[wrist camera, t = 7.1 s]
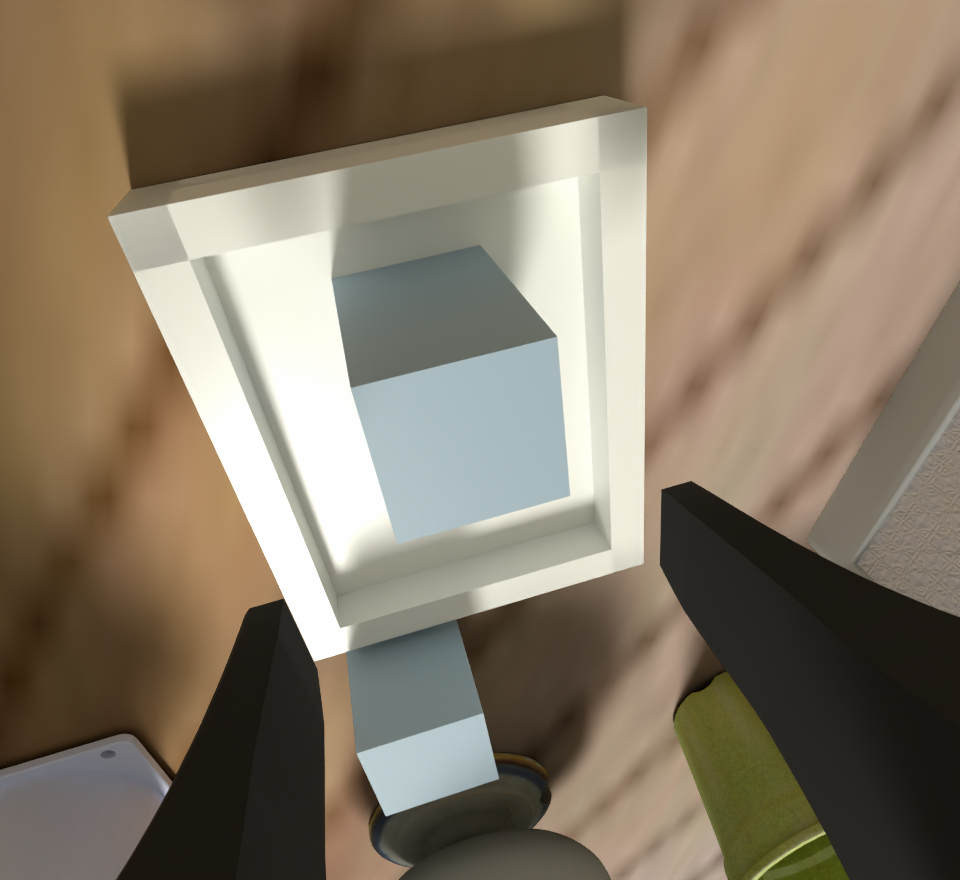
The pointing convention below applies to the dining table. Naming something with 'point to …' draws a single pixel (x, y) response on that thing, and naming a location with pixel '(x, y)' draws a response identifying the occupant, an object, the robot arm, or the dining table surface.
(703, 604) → the robot arm
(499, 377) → the block
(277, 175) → the tray
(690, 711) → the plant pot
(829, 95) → the dining table surface
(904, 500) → the red striped block
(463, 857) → the apothecary jar
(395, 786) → the block
